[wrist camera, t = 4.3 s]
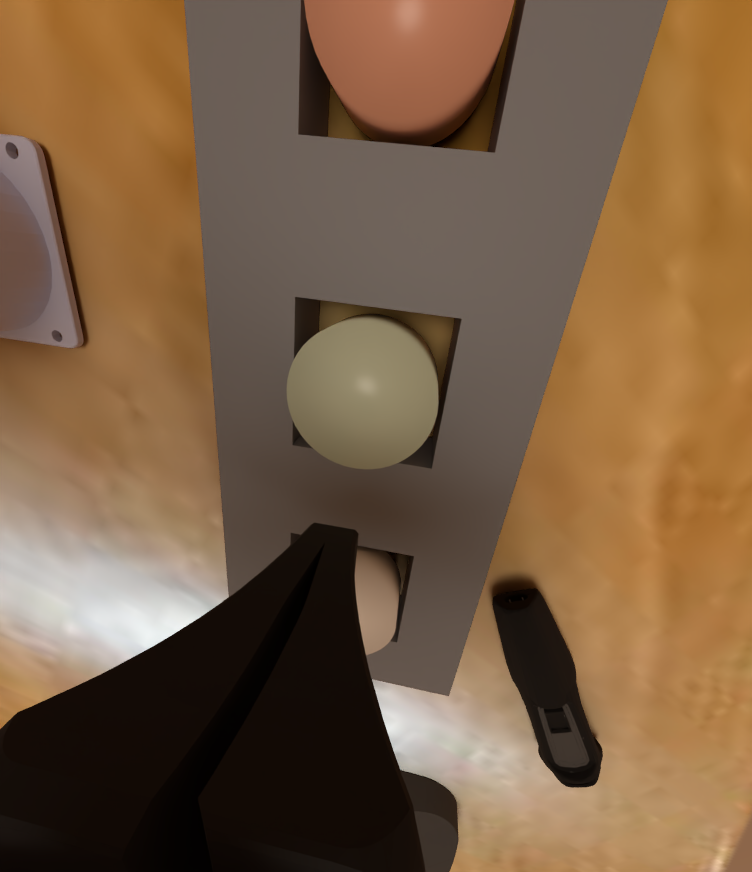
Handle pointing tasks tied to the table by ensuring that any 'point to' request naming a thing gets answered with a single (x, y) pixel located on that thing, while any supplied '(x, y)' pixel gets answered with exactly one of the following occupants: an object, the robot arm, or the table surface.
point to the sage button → (364, 391)
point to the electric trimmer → (547, 686)
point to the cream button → (376, 596)
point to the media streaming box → (434, 821)
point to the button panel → (398, 284)
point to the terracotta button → (408, 61)
